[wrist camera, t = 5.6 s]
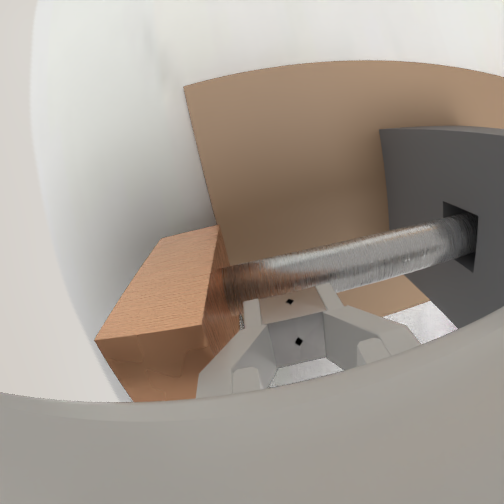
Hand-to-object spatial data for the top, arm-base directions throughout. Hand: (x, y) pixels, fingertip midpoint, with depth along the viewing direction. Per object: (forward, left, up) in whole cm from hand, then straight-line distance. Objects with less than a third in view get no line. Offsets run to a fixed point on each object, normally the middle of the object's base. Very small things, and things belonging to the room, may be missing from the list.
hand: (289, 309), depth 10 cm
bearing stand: (0, -13, -11) cm, 17 cm away
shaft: (0, -7, -5) cm, 9 cm away
